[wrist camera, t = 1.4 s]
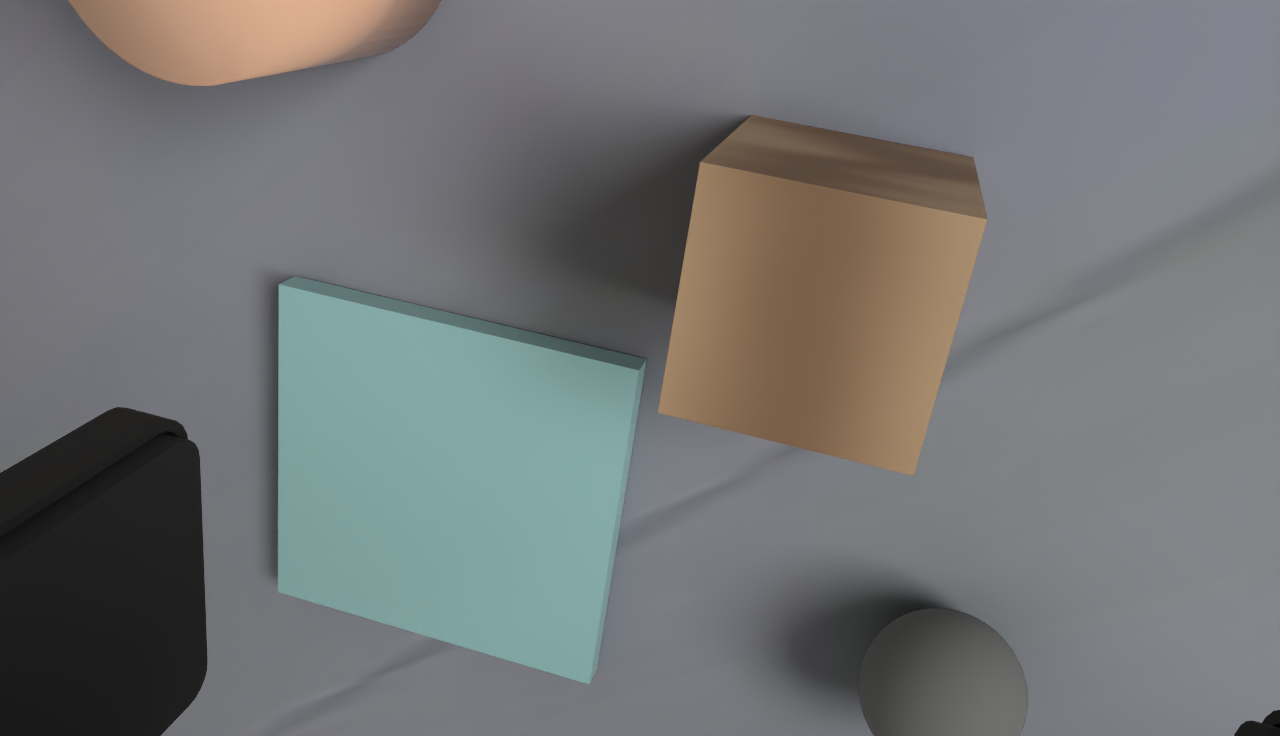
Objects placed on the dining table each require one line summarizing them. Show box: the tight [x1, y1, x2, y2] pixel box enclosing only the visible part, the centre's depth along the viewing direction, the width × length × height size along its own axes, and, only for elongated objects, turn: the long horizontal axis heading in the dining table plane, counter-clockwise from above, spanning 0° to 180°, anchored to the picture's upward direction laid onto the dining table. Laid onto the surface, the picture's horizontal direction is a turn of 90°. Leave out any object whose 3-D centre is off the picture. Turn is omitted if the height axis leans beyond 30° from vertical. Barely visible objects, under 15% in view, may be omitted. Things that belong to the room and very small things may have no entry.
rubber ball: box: [859, 608, 1028, 736], centre depth 26 cm, size 4×4×4 cm
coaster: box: [278, 276, 647, 684], centre depth 29 cm, size 10×10×1 cm
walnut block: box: [658, 115, 987, 476], centre depth 22 cm, size 5×5×6 cm
